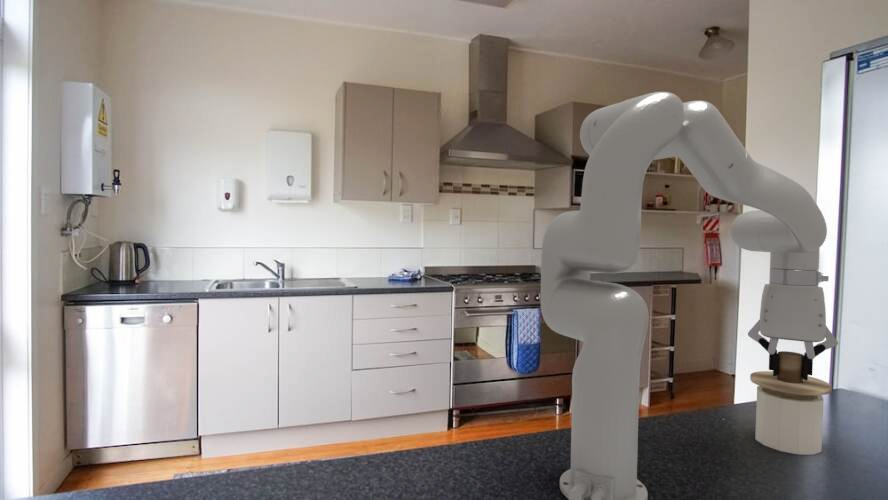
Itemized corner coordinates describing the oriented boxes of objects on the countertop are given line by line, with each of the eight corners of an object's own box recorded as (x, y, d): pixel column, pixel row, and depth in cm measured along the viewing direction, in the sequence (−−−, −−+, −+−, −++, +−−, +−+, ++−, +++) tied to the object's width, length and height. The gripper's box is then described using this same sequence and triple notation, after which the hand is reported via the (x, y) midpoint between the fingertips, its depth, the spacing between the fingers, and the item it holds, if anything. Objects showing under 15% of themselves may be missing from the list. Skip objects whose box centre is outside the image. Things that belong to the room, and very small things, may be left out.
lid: (835, 400, 87) (836, 366, 87) (749, 387, 94) (750, 355, 94) (827, 382, 98) (829, 351, 98) (751, 371, 105) (752, 343, 105)
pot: (823, 459, 89) (825, 405, 89) (754, 445, 95) (756, 395, 95) (818, 439, 98) (820, 390, 98) (756, 428, 103) (757, 381, 103)
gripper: (847, 279, 94) (843, 379, 95) (742, 274, 103) (739, 365, 104) (853, 283, 88) (849, 389, 88) (740, 277, 97) (737, 374, 97)
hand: (789, 375), depth 96 cm, fingers closed on lid, 4 cm apart
